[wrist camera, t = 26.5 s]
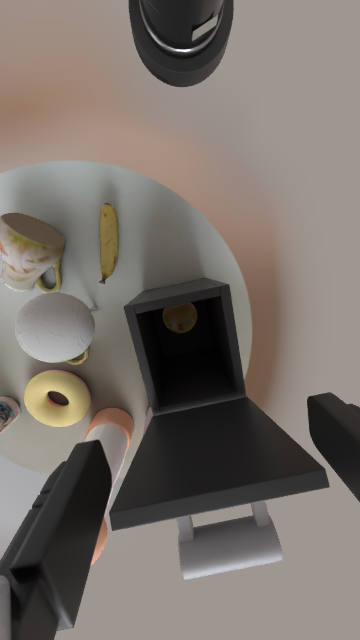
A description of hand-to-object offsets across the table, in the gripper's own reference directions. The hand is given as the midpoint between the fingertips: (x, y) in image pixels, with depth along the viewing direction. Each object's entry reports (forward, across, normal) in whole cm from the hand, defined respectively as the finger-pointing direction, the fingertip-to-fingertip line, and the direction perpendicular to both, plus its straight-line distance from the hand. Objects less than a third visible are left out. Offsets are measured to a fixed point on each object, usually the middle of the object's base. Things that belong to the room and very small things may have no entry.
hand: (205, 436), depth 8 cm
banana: (+27, +8, -11) cm, 30 cm away
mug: (+27, +18, -11) cm, 34 cm away
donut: (+27, +22, +10) cm, 36 cm away
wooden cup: (+26, 0, 0) cm, 26 cm away
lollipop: (+27, +13, -3) cm, 30 cm away
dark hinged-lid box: (+27, 0, +2) cm, 27 cm away
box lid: (+7, 0, +5) cm, 9 cm away
